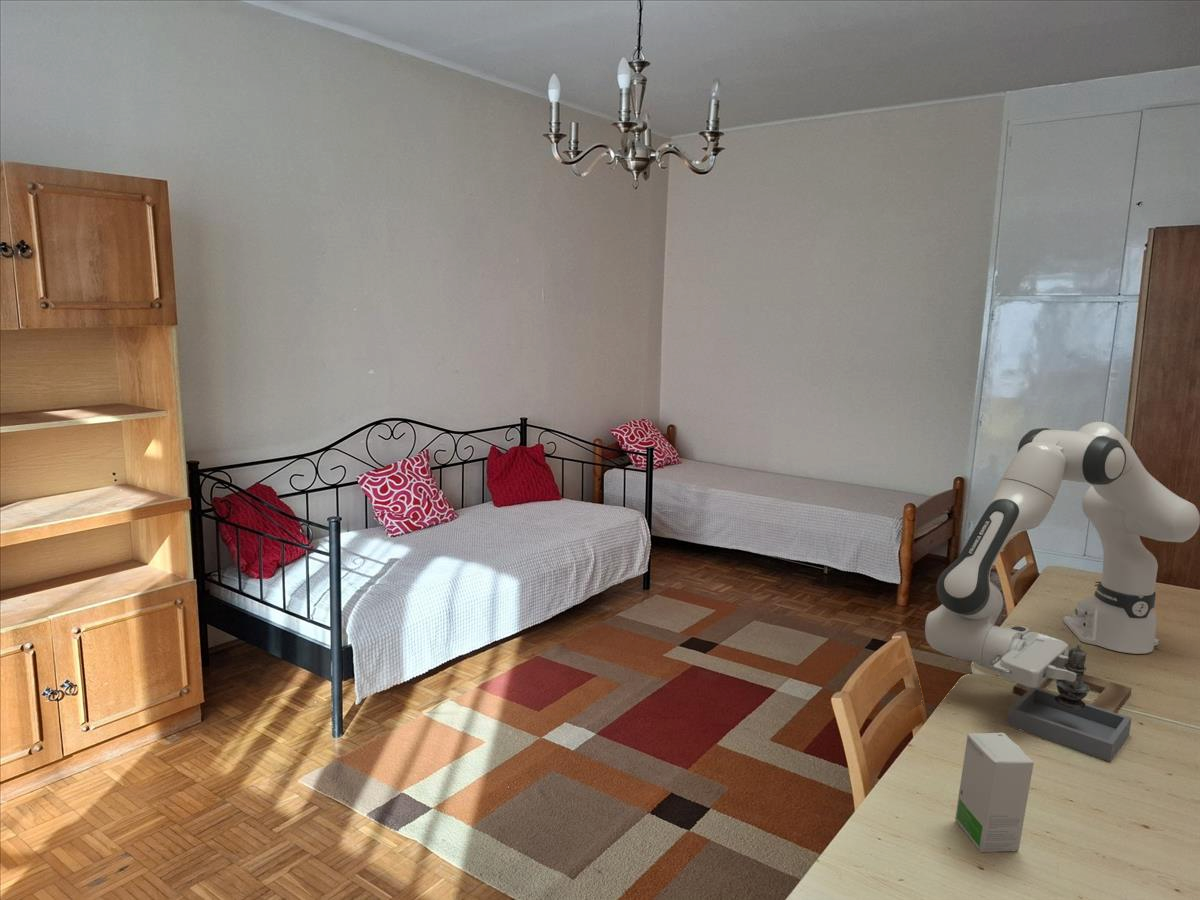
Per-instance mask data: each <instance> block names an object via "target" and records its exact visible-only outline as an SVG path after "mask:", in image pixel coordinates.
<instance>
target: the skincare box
mask: <svg viewBox="0 0 1200 900" xmlns="http://www.w3.org/2000/svg"><path fill="white" fill-rule="evenodd" d="M965 744H966V745H965V750H964V755H963V756H964V757H963V758H964V759H963V763H962V764H963V765H962V769H961V770H962V771H961V778H960V785H959V791H958V798H957V803H956V804H957V805H956V812H955V816H954V817H955V822H956V821H957V822H956V823H957V824H958V823H959V824H958V826H960V828H961V827H962V828H961V829H962V830H964V831H965V832H964V831H963V832H964V833H965V834H966V836H967V837H968V836H969V837H968V838H969V839H970V841H971V840H972V841H973V842H974V843H975V844H974V843H973V842H972V841H971V842H972V843H973V844H974V846H975V845H976V846H977V847H978V848H977V847H976V846H975V847H976V848H977V850H978V849H979V850H980V851H981V852H987V853H999V852H998V851H1013V850H1015V851H1013V852H1017V851H1016V850H1019V851H1020V845H1021V839H1022V834H1023V826H1024V821H1025V816H1026V810H1027V803H1028V797H1029V793H1030V786H1031V780H1032V775H1033V769H1034V763H1035V762H1034V761H1033V760H1032V759H1031V758H1030V757H1029V756H1028V755H1027V754H1026V753H1025V752H1024V751H1023V750H1022V748H1021V747H1020V746H1019V745H1018V744H1017V743H1015V742H1014V741H1013V740H1012V739H1011V738H1010V737H1009V736H1008V735H1007V734H1006V733H1004V732H989V733H987V732H983V733H982V732H981V733H967V737H966V743H965ZM979 850H978V851H979ZM980 851H979V852H980ZM981 852H980V853H981Z"/></svg>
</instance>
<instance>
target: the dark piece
mask: <svg viewBox="0 0 1200 900" xmlns="http://www.w3.org/2000/svg"><path fill="white" fill-rule="evenodd" d="M1067 657H1068V662H1067V663H1066V664H1065V667H1066V670H1067V669H1070V670H1073V671H1076V672H1077V673H1078V675H1077V679H1076V680H1075V681H1074V682H1071V681H1067V680H1060V679H1055V684H1056V689H1057V692H1058V693H1060V694H1061V695H1058V696H1056V697H1055V701H1056V702H1058V703H1059V704H1061V705H1063V706H1065V707H1069V708H1074V709H1082V708H1085V706H1086V705H1085V703H1084V702H1083V701H1084V700H1083V699H1085V698H1086V697H1087V695H1088V693H1089V692H1090V691H1091V690H1090V688H1089V687H1088V686H1087V685H1086V684H1084V683H1083V674H1085V672H1086V671H1087V668H1086V666H1085V665H1086V664H1085V663H1086V658H1087V655H1086V652H1085V651H1084V650H1083V649H1081V645H1080V644H1077V645H1076V647H1074V648H1071V649H1069V650H1068V655H1067ZM1084 666H1085V667H1084ZM1065 667H1064V668H1065ZM1082 700H1083V701H1082Z"/></svg>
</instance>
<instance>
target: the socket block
mask: <svg viewBox="0 0 1200 900" xmlns="http://www.w3.org/2000/svg"><path fill="white" fill-rule="evenodd" d="M1058 668H1059V669H1065V670H1066V668H1065V667H1064V668H1061V667H1058ZM1053 680H1054V679H1051V678H1048V677H1047V678H1046V679H1045V680H1044V681H1043V682H1042V683H1041V684H1040V685H1039V686H1038V687H1037V688H1039V689H1043V690H1046V691H1049V692H1052V693H1055V694H1058V695H1061V694H1060V693H1059V692H1058V691H1055V690H1052V689H1049V688H1046V687H1047V686H1048V685H1049V684H1050V683H1051V682H1052V681H1053ZM1083 683H1084V684H1086V685H1087V686H1088V687H1089V688H1090V691H1093V692H1095V693H1096V692H1097V693H1099V695H1098V696H1097V697H1096V698H1095V699H1094V701H1093V702H1090V701H1087V700H1083V699H1081V700H1082V701H1083V702H1084V703H1086V704H1090V705H1093V706H1096V707H1099V708H1102V709H1105V710H1108V711H1112V712H1115V713H1118V712H1119V710H1120V709H1122V706H1123V705H1124V704H1125V702H1126V701H1127V700H1128V699H1129V698H1130V696H1131V694H1132V687H1129V686H1126V685H1122V684H1120V683H1116V682H1112V681H1109V680H1105V679H1102V678H1099V677H1096V676H1093V675H1089V674H1086V673H1084V674H1083ZM1030 688H1031V687H1026V686H1024V685H1021V684H1018V683H1016V684H1014V686H1013V688H1012V690H1013V691H1012V694H1016V695H1018V694H1019V696H1021V695H1022V696H1023V695H1024V694H1025V693H1026V692H1027V691H1028V690H1029V689H1030ZM1022 696H1021V697H1022Z"/></svg>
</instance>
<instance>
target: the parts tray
mask: <svg viewBox="0 0 1200 900" xmlns="http://www.w3.org/2000/svg"><path fill="white" fill-rule="evenodd" d="M1056 696H1058V694H1055V693H1052V692H1049V691H1046V690H1043V689H1039V688H1030V689H1029V690H1028V691H1027V692H1026V693H1025V694H1024V695H1023V696H1021V697H1020V698H1018V699H1017V700H1016V701H1015V702H1014V703H1013V704H1012V705H1011V706H1010V707H1009V708H1008V711H1007V712H1008V713H1007V719H1006V720H1007V721H1006V726H1007V725H1009V726H1008V727H1010V726H1012V727H1011V728H1013V727H1015V728H1014V729H1016V728H1017V729H1016V730H1019V729H1021V730H1023V731H1022V732H1024V731H1025V733H1027V732H1028V733H1027V734H1030V735H1033V736H1036V737H1038V738H1042V739H1044V740H1047V741H1050V742H1053V743H1056V744H1059V745H1060V746H1064V747H1067V748H1070V749H1073V750H1075V751H1078V752H1081V753H1084V754H1086V755H1089V756H1092V757H1095V758H1097V759H1100V760H1103V761H1106V762H1108V763H1109V762H1110V763H1111V761H1112V760H1113V758H1115V757H1114V756H1115V755H1116V754H1117V752H1118V751H1119V750H1120V749H1121V747H1122V745H1123V744H1124V743H1125V741H1126V740H1127V738H1128V737H1129V736H1130V733H1131V732H1130V731H1131V725H1132V719H1133V718H1132V717H1131V716H1127V715H1124V714H1121V713H1118V712H1117V713H1115V712H1112V711H1108V710H1105V709H1102V708H1099V707H1096V706H1093V705H1090V704H1086V703H1085V705H1086V706H1085V708H1082V709H1074V708H1069V707H1065V706H1063V705H1061V704H1059V703H1058V702H1056V701H1055V697H1056ZM1021 730H1020V731H1021Z"/></svg>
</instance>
